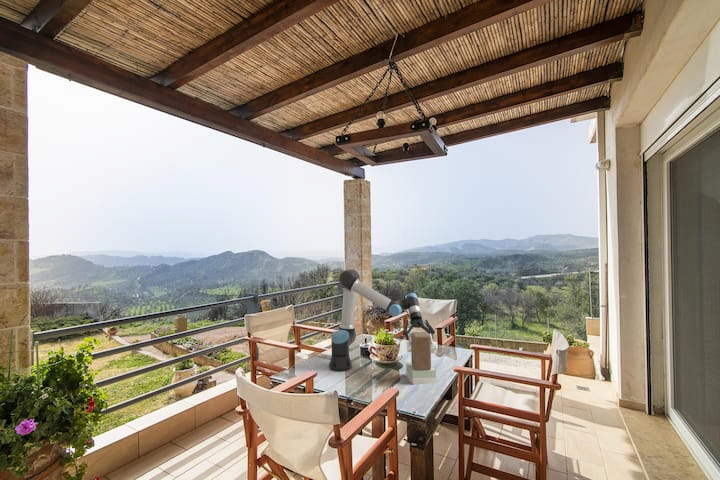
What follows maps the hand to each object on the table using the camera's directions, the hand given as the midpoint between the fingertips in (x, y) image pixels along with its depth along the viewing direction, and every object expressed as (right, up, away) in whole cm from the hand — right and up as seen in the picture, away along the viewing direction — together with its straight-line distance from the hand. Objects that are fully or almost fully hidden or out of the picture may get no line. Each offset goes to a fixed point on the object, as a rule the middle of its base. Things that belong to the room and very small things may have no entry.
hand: (421, 344), depth 196 cm
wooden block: (0, -13, -2) cm, 14 cm away
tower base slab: (0, -21, -1) cm, 21 cm away
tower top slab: (0, -17, 0) cm, 17 cm away
